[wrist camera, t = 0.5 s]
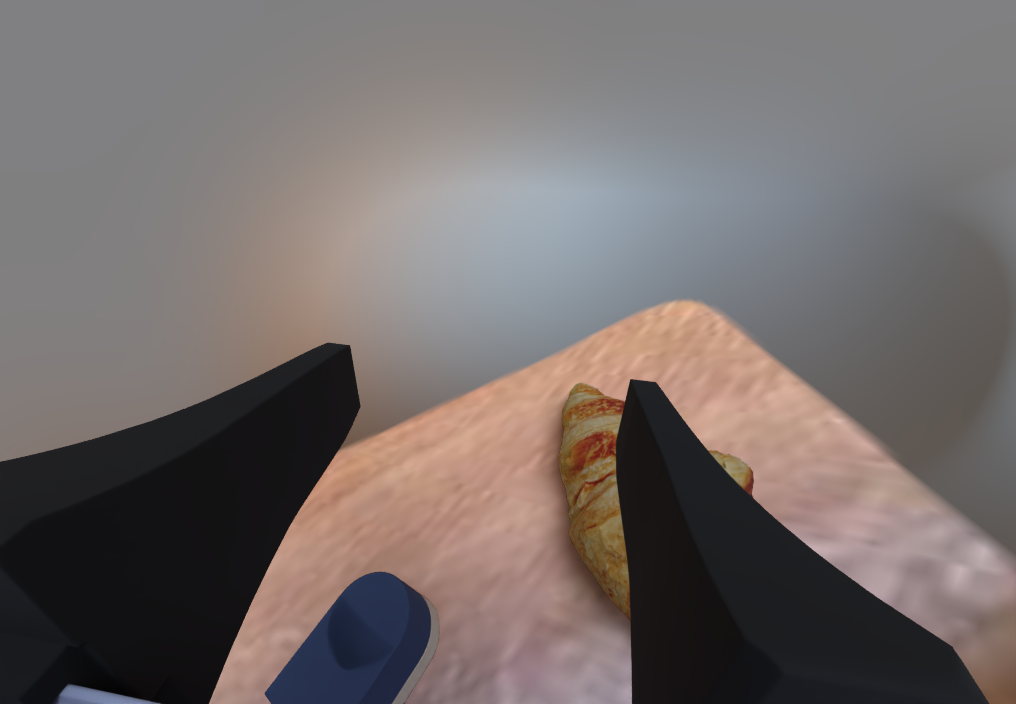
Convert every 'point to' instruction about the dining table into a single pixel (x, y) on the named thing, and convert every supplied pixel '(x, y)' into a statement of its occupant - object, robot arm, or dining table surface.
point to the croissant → (605, 486)
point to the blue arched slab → (363, 647)
